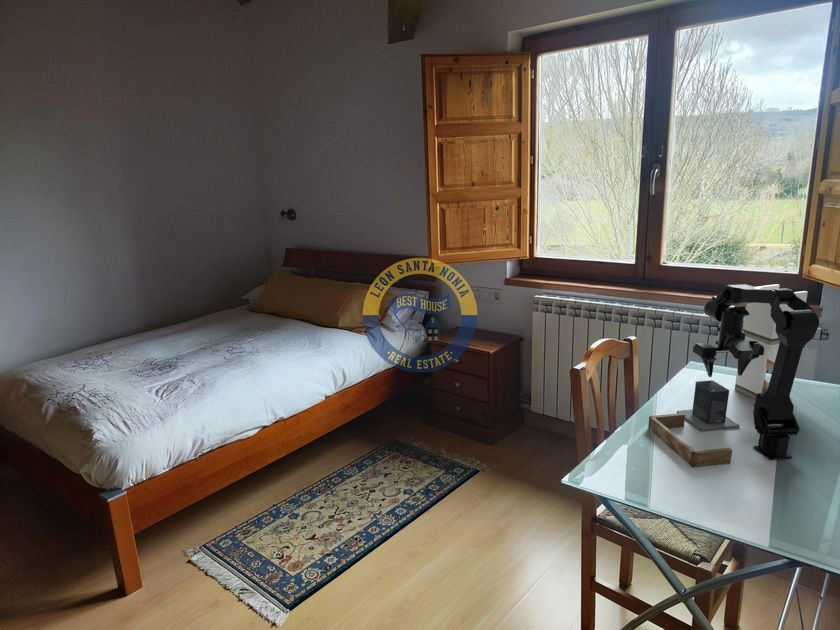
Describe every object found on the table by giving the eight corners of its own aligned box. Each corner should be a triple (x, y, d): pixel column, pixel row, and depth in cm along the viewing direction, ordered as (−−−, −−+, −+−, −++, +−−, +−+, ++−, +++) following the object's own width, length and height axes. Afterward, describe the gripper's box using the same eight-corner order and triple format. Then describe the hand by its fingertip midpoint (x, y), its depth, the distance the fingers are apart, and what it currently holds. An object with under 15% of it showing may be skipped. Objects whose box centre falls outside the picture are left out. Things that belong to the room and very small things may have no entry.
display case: (761, 402, 177) (778, 295, 167) (734, 389, 187) (748, 287, 177) (789, 396, 180) (807, 291, 170) (761, 384, 190) (777, 284, 180)
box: (725, 423, 163) (730, 390, 160) (707, 425, 162) (711, 391, 159) (708, 411, 170) (712, 379, 167) (691, 413, 169) (695, 380, 166)
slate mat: (739, 427, 162) (739, 425, 161) (700, 431, 160) (701, 429, 160) (712, 409, 173) (713, 407, 173) (676, 413, 171) (676, 410, 171)
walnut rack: (730, 463, 144) (732, 449, 143) (692, 467, 142) (694, 453, 141) (681, 425, 164) (683, 412, 163) (648, 428, 163) (649, 416, 162)
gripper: (716, 336, 155) (709, 388, 160) (780, 333, 156) (772, 385, 160) (694, 324, 166) (689, 373, 170) (755, 322, 167) (748, 370, 171)
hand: (724, 376), depth 168 cm, fingers open, 9 cm apart
